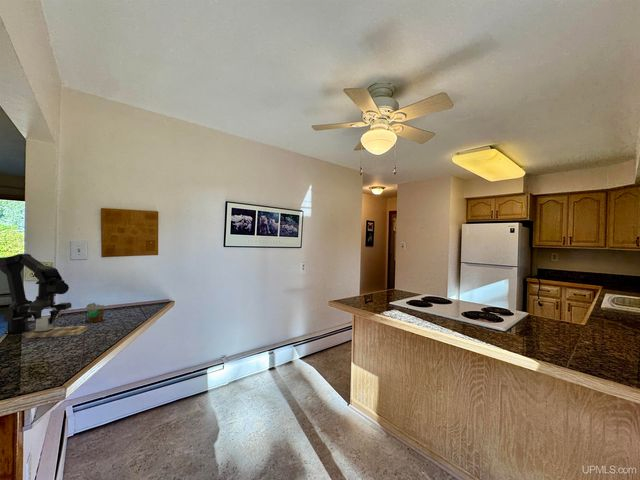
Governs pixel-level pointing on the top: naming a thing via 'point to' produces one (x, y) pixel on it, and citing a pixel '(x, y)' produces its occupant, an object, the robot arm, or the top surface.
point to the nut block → (43, 324)
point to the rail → (57, 332)
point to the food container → (95, 313)
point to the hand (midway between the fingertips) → (44, 324)
